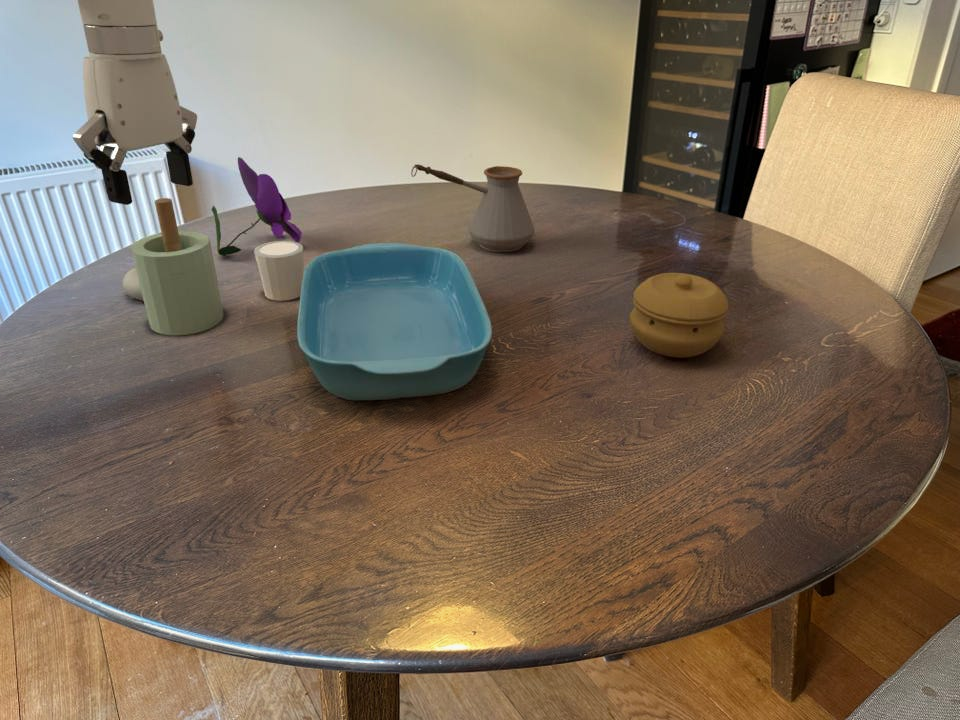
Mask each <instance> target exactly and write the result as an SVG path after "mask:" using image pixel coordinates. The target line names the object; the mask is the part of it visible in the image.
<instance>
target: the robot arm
mask: <svg viewBox="0 0 960 720" xmlns="http://www.w3.org/2000/svg"><path fill="white" fill-rule="evenodd" d="M77 4H78V8H79V13H80V17H81V18H80V19H81V23H82V27H83V32H84V37H85V40H86V45H87V48H88V49H87V50H88V55H89V56H84V57H83V61H82V80H83V81H82V82H83V93H84V101H85V109H86V110H85V111H86V116H87V121H86V122H85V123H84V124H83V125H81V126H80V128H78V129H77V130H76V131H75V132H74V133H73V135H72V139H73V141H74V143H75V144H76V145H77V147H78V148H79V149H80V151H81V152H82V153H83V156H84V158H86V159H87V160H88V161H89V162H91V163H92V164H93V165H94V167H95V168H96V169H99V170H101V173H102V178H103V182H104V187H105V188H104V189H105V192H106V195H107V198H108V200H109V202H110V203H115V204H120V205H125V206H129V205H131V204H133V197H132V192H131V188H130V183H129V178H128V173H127V171H126V169H121V168H122V166H123V164H124V161H125V158H126V156H127V154H128V152H133V151H138V150H142V149H148V148H152V147H155V146H160V145H165V146H166V148H167V149H168V151H165V155H166V156H165V157H166V158H165V159H166V162H167V169H168V173H169V174H168V175H169V179H170V182H171V184H173V185H174V184H175V185H180V186H185V187H191V186H193V184H194V181H193V176H192V175H193V174H192V169H191V163H190V157H189V154H191V152H192V150H193V148H192V144H193V142H194V139H195V137H196V132H195V130H196V126H197V122H198V115H197V113H196V112H194V111H191V110H190V109H188V108H186V107H183V106H182V105H180V101H179V96H178V92H177V88H176V84H175V82H174V77H173V74H172V71H171V67H170V65H169V63H168V59H167V56H166V54H163V52H162V46H161V42H162V41H163V40H164V34H163V32H162V31H161V30H160V29H159V27H158V25H157V24H158V23H157V16H156V10H155V5H154V0H77ZM98 147H99V148H98Z"/></svg>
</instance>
